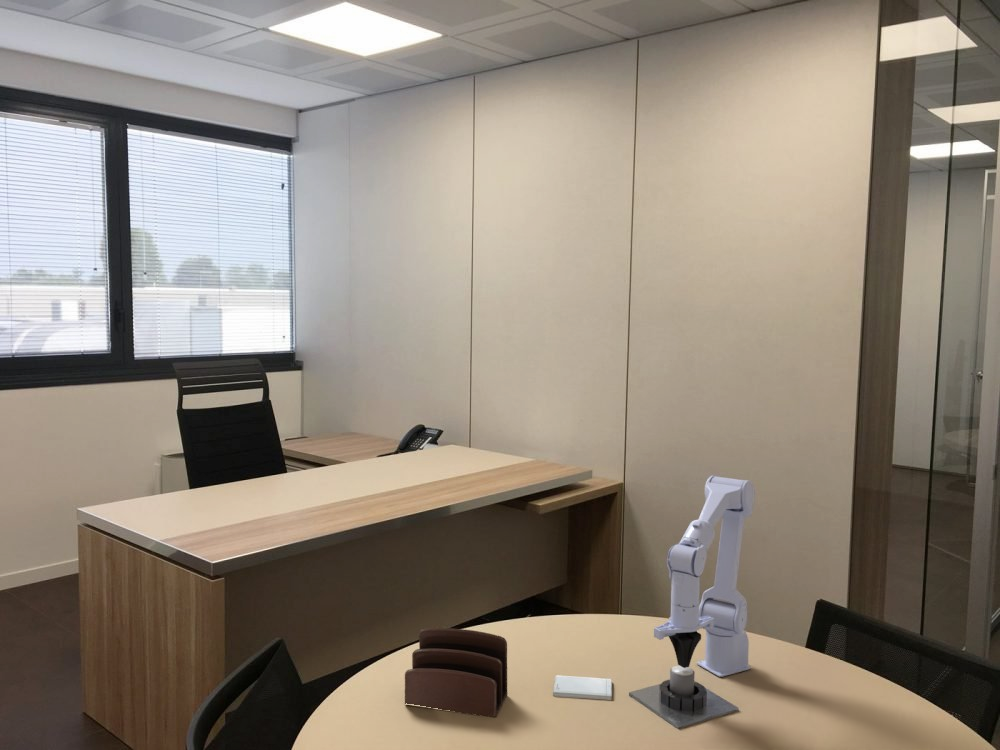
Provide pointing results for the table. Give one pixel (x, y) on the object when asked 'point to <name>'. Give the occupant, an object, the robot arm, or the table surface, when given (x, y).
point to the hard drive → (583, 687)
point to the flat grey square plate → (683, 704)
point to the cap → (682, 681)
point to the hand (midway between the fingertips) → (683, 665)
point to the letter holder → (458, 671)
